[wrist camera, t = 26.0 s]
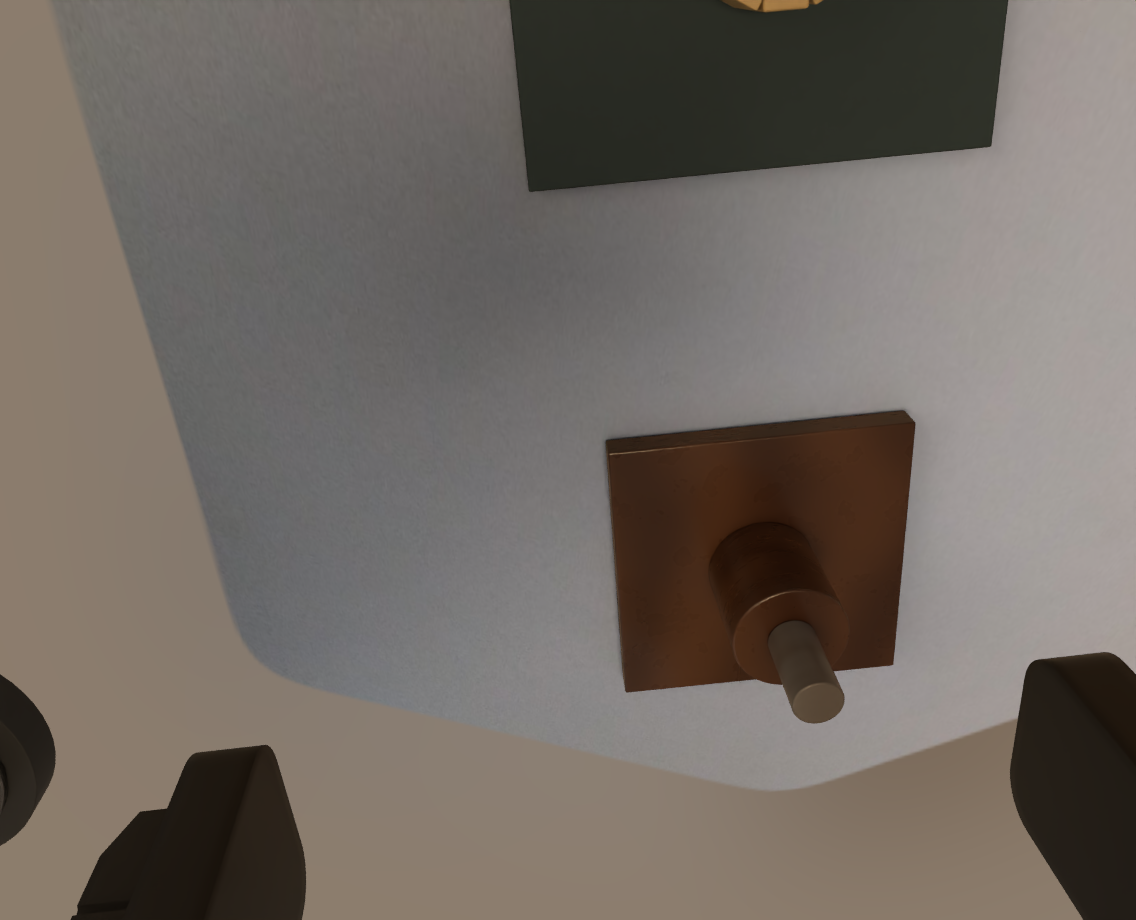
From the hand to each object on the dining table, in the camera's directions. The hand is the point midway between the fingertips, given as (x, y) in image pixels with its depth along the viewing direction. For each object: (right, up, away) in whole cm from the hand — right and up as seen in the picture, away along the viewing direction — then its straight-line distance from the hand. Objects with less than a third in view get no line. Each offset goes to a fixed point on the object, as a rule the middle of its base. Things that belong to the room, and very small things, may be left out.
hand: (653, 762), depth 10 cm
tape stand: (+7, -1, +30) cm, 31 cm away
